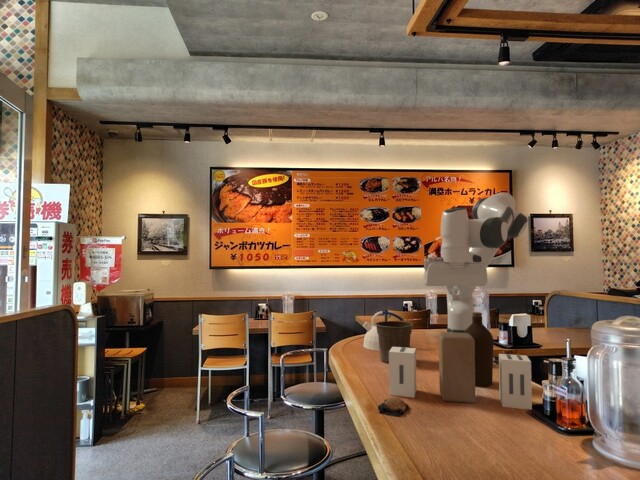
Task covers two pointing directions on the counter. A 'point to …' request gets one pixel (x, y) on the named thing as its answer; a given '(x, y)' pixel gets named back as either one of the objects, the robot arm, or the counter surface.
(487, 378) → the olive oil
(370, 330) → the kettle
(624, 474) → the counter surface
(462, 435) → the counter surface
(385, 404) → the bread roll
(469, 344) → the block
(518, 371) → the marked block two
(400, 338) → the plant pot
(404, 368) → the marked block one
